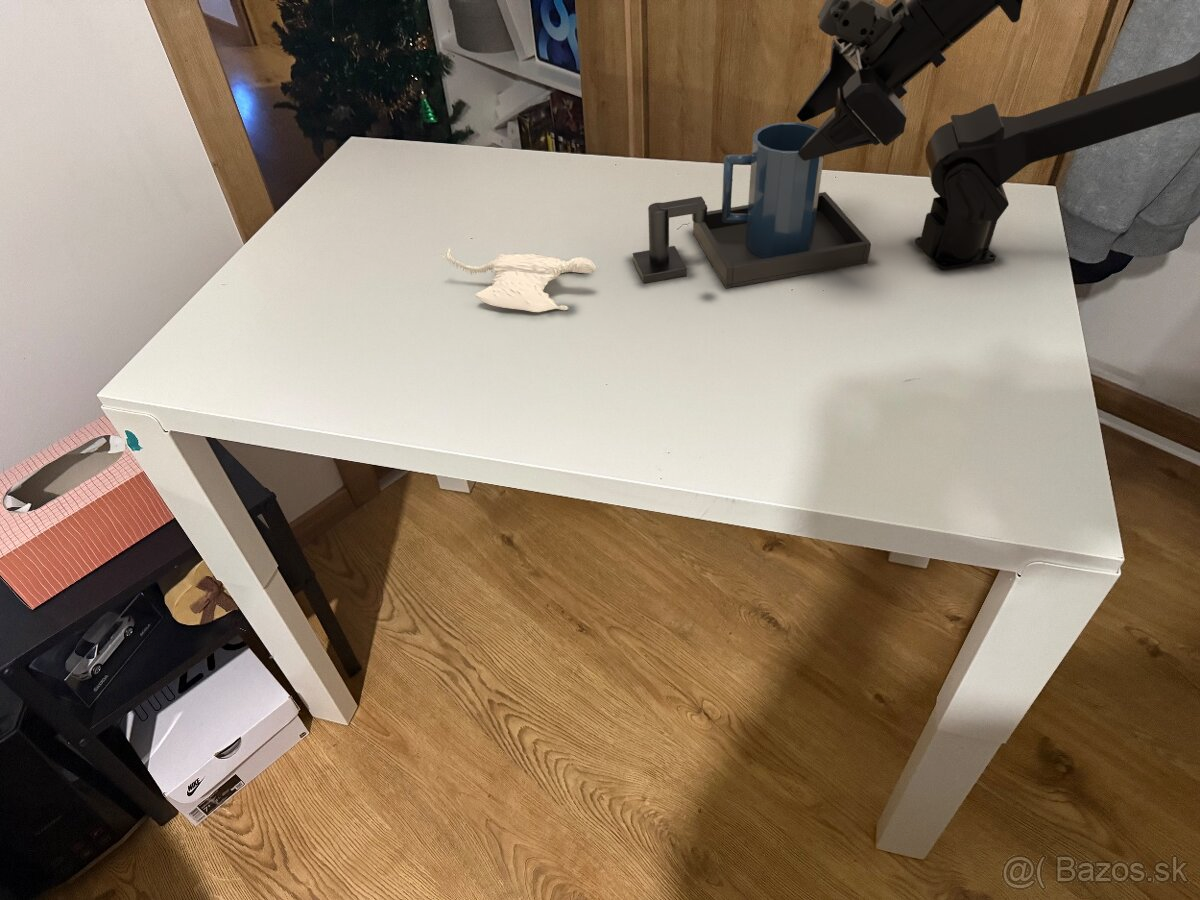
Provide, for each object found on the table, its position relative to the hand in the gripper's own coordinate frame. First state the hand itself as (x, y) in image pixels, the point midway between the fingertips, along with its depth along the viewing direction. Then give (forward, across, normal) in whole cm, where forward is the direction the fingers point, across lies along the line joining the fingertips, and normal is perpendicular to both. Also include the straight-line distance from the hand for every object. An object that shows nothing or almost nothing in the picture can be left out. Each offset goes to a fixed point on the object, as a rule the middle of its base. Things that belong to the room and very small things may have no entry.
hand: (799, 137), depth 85 cm
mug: (+11, 0, +7) cm, 13 cm away
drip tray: (+10, 0, +8) cm, 13 cm away
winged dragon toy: (+30, +10, -12) cm, 34 cm away
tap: (+18, +4, 0) cm, 19 cm away
